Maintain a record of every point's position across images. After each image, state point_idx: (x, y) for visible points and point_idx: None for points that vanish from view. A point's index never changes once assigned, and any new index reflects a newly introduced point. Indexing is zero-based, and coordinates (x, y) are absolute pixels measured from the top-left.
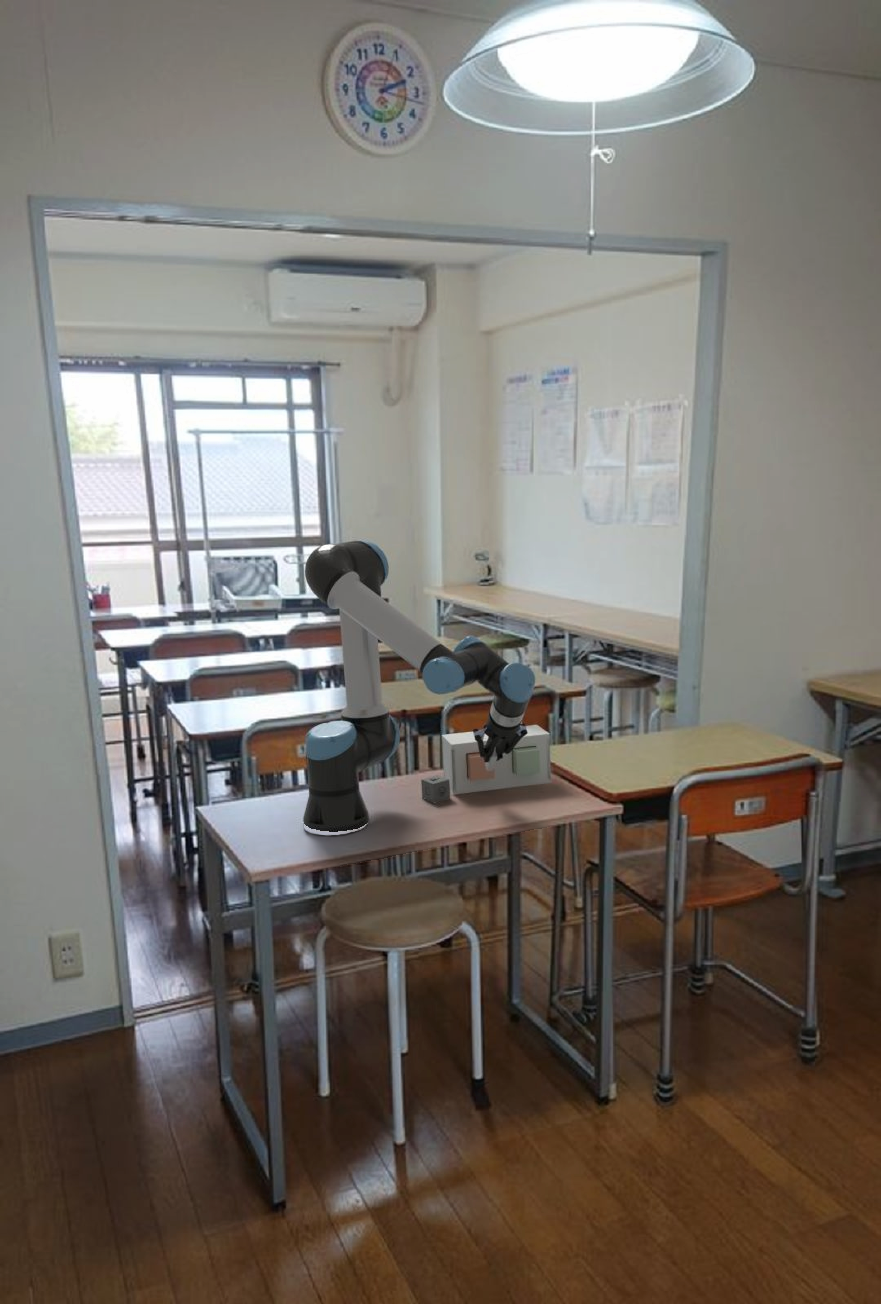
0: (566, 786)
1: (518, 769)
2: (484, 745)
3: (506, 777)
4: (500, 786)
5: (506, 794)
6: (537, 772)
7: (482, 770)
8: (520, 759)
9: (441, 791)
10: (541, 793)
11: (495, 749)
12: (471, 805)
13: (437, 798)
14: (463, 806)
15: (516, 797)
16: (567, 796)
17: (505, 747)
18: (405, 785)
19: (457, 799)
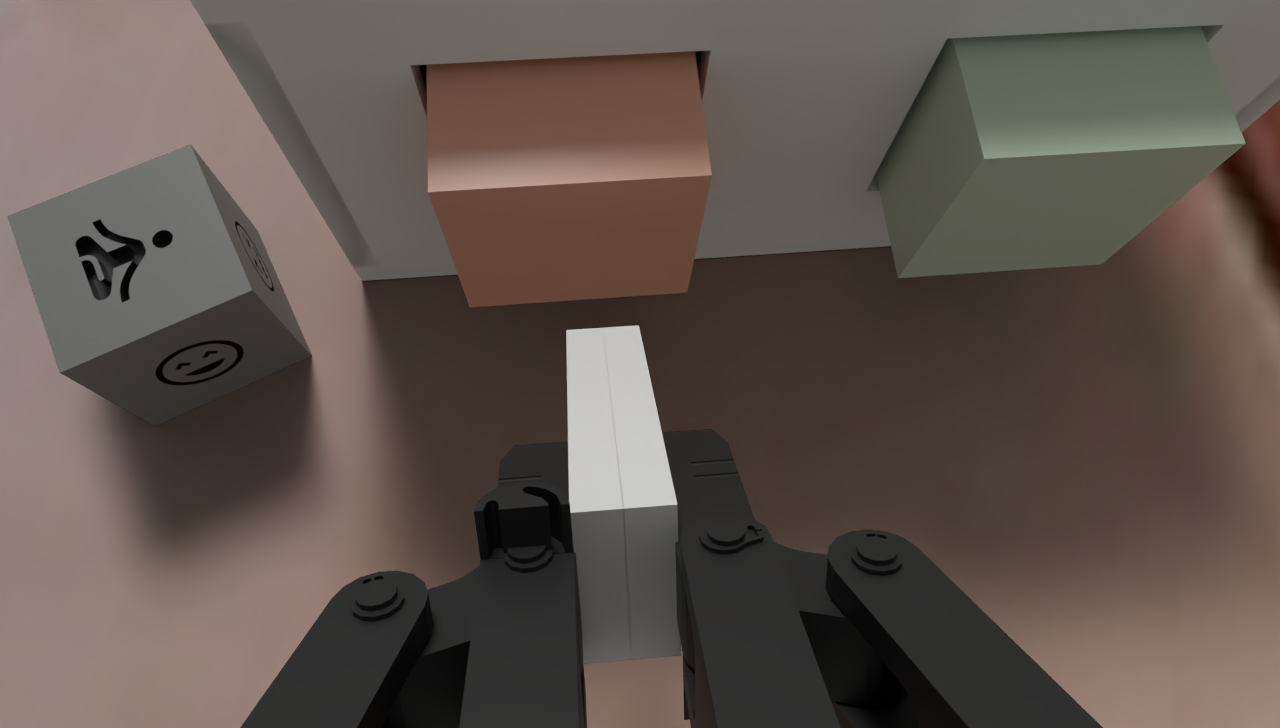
0: (1238, 342)
1: (929, 254)
2: (477, 522)
3: (805, 210)
4: (740, 246)
5: (759, 389)
6: (1083, 264)
7: (575, 261)
8: (990, 201)
9: (199, 364)
10: (1032, 443)
11: (676, 556)
12: (428, 568)
13: (177, 400)
14: (358, 574)
15: (824, 480)
16: (1234, 573)
17: (853, 663)
18: (89, 5)
19: (359, 394)
